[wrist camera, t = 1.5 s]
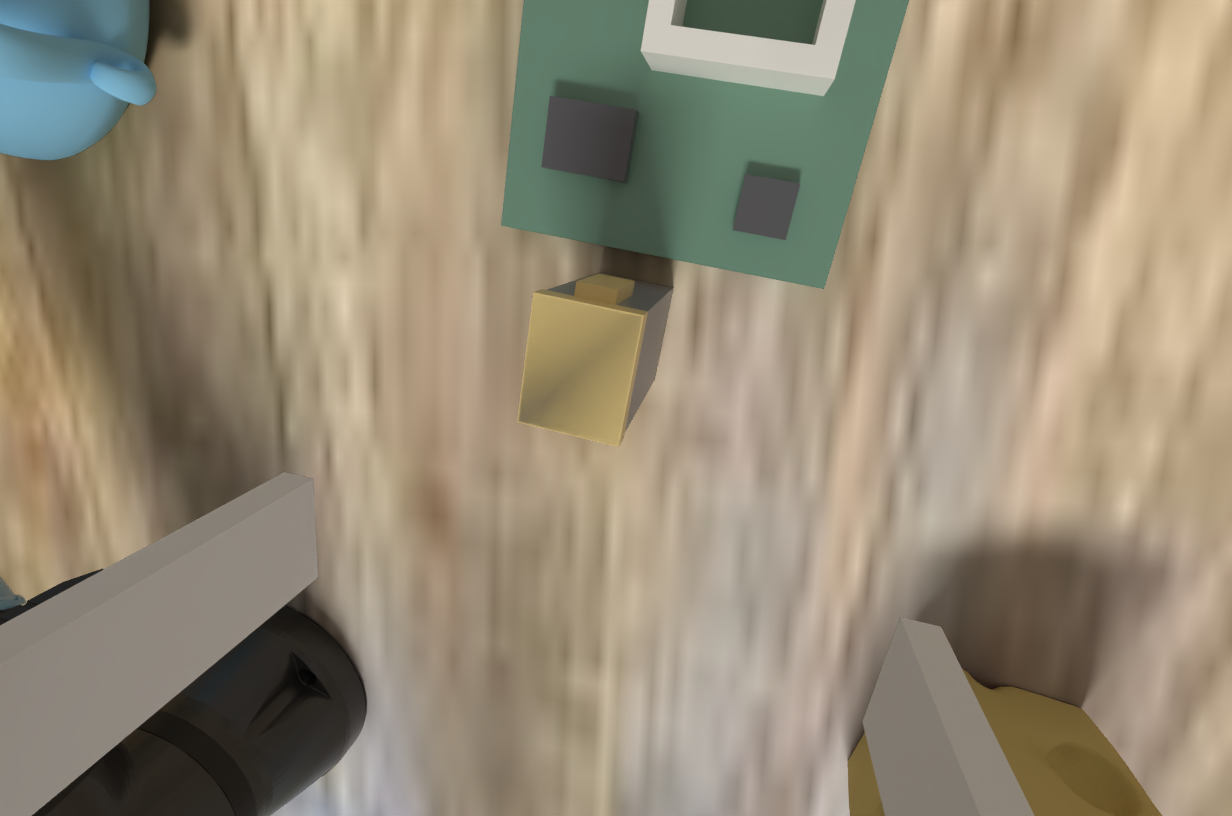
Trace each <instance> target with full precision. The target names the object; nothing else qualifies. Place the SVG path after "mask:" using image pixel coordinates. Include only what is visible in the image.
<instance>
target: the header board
mask: <svg viewBox="0 0 1232 816" xmlns="http://www.w3.org/2000/svg"><path fill="white" fill-rule="evenodd" d="M908 2H909V0H524V5H523V15H522V24H521V34H520V44H519V54H518V64H517V74H516V84H515V94H514V104H513V114H512V124H511V134H510V144H509V154H508V164H507V174H506V184H505V194H504V204H503V213H502V223H501V226H506V227H511V228H516V229H522V230H527V231H532V232H537V233H542V234H547V235H552V236H557V237H562V238H567V239H572V240H578V241H583V242H588V243H593V244H598V245H603V246H608V247H613V248H618V249H623V250H628V251H634V252H639V253H644V254H649V255H654V256H659V257H664V258H669V259H674V260H679V261H684V262H690V263H695V264H700V265H705V266H710V267H715V268H720V269H725V270H730V271H735V272H740V273H746V274H751V275H756V276H761V277H766V278H771V279H776V280H781V281H786V282H791V283H796V284H801V285H807V286H812V287H817V288H822V289H824V287H825V284H826V281H827V277H828V274H829V270H830V267H831V264H832V260H833V257H834V253H835V250H836V247H837V243H838V240H839V236H840V233H841V230H842V226H843V223H844V219H845V216H846V213H847V209H848V206H849V202H850V199H851V196H852V192H853V189H854V185H855V182H856V179H857V175H858V172H859V168H860V165H861V162H862V158H863V155H864V151H865V148H866V145H867V141H868V138H869V135H870V131H871V128H872V124H873V121H874V118H875V114H876V111H877V107H878V104H879V101H880V97H881V94H882V90H883V87H884V84H885V80H886V77H887V73H888V70H889V67H890V63H891V60H892V56H893V53H894V50H895V46H896V43H897V39H898V36H899V33H900V29H901V26H902V22H903V19H904V16H905V12H906V9H907V5H908Z"/></svg>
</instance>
